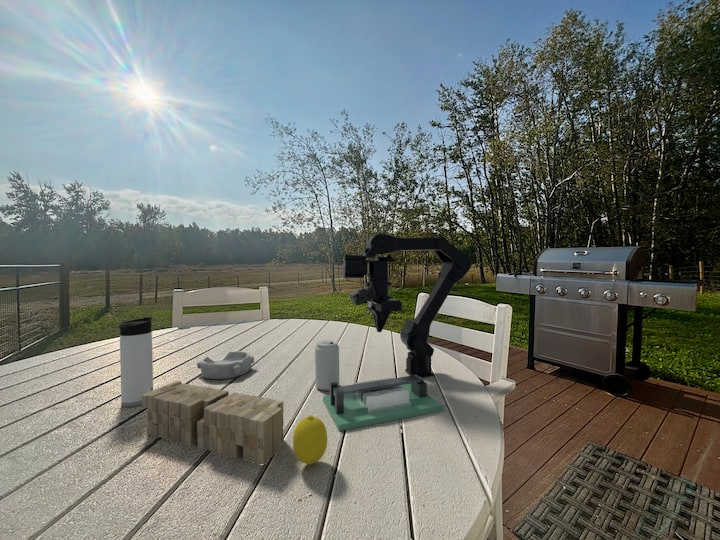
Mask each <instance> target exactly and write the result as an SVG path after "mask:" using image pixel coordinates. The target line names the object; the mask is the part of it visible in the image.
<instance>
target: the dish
mask: <svg viewBox="0 0 720 540" xmlns="http://www.w3.org/2000/svg"><path fill="white" fill-rule="evenodd" d="M254 362H255V357H254V355H251V354H250V353H249V352H247V351H242V350H241V351H239V350H237V351H234V350H233V351H229V352H228V353H227V354H226V356H225V357H223V359H221V360H218V361H214V360H213V359H211V358H210V357H209V356H205V357H204V358H201V359H200V360H197V361H196V366H197V369H198V370H199V369H200V371H201V372H200V373H201V375H202V377H203V378H205V379H210V380H223V379H232V378H236V377H241V376H243V375H244V374H246V373H248V372H249V371H250V370H251V369H252V364H254Z"/></svg>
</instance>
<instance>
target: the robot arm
mask: <svg viewBox="0 0 720 540" xmlns="http://www.w3.org/2000/svg"><path fill="white" fill-rule="evenodd" d="M399 251H401V252H403V251H404V252H405V251H408V252H409V251H432V252H434V253H435V254H436V256H437V258H438V259H439V260H440V262H442V265H441V267H440V268H441V269H440V277H439V278H438V281H437V282H436V284H435V285H434V287H433V289H432V290H431V292H430V293H429V295H428V297H427V299H426V301H425V302H424V304H423V306H422V307H421V309H420V310H419V312H418V313H417V315H416V317H414V318H413V319H410V318H406V320H405V322H404V325H403V326H402V327H401V328H400V331H401V332H400V340H401V342H402V344H403V345H405V347H406V349H407V350H408V351H407V357H406V359H405V362H406V365H405V367H406V368H405V370H404V371H405V372H406V373H407V374H409V376H412V375H415V374H417V375H418V376H420V377H421V378H423V377H424V378H425V377H431V376H435V373H434V371H432V357H433V355H434V352H435V348H433V347H432V346H431V345H430V344H429V343H428V342H427V341H428V339H429V336H430V331H431V325H432V323H433V322H434V320H435V318H436V316H437V314H438V313H439V311H440V309H441V308H442V306H443V304H444V303H445V301H446V300H447V298H448V296H449V294H450V292H451V291H452V289H453V287H454V286H455V284H456V283H458V282H459V281H461V279H463V278H465V276H466V275H467V274H468V272H469V271H470V270H471V269H472V266H473V264H472V263H473V262H472V259H471V257H470V256H469V255H468V254H466V253H463V252H462V251H461V250H460V249H459V248H458V247H456V246H455V245H453V244H452V243H450V242H449V241H448V239H446V237H444V236H437V237H398V236H396V235H389V234H384V233H379V234H376V235H373V236H371V237H369V239H368V240H367V242H366V249H364V251H363V252H362V253H361V255H352V254H344V255H343V264H342V278H343V279H345V280H349V279H351V280H352V279H355V280H356V279H364V277H365V276H367V275H368V281H366V282H365V287H362V288H360V289H357V290H355V291H352V292H350V293H349V294H348V295H349V297H350V300H351V302H352V303H351V304H352V305H355V306H360V305H361V306H363V305H364V304H367V306H365V309H366V310H368V311H369V312H370V313H371V317H372V319H373V322H374V326H375V330H376V332H377V333H382V332H383V329H384V327H385V325H386V323H387V321H388V319H389V317H390V314H391V313H392V312H401V311H403V309H404V308H403V305H404V304H403V302H402V301H401V300H399V299H395V298H392V296H391V295H389V294H390V292H389V291H390V290H389V289H390V287H389V286H392V281H389V278H390V277H389V272H390V271H389V267H390V266H389V263H396V262H397V261H396V259H395V258H394V257H392V255H391V254H390V253H394V252H399ZM385 254H386V256H379V255H385ZM372 258H373V259H374V258H375V259H374V260H367V259H372Z"/></svg>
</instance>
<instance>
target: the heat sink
mask: <svg viewBox="0 0 720 540" xmlns="http://www.w3.org/2000/svg"><path fill="white" fill-rule="evenodd" d="M386 379H393V376H392V377H386V378H385V377H384V378H378V379H372V380H366V381H365V380H364V381H357V382H354V383H353V384H360V383H367V382H373V381H380V380H386ZM334 387H339V386H338V383H337V382H334V383H330V391H329V395H330V404H331V405H335V413H336V414H343V413H344V391H343V390H338V391H335V396H334V394H333V388H334ZM411 392H413V393H414V394H415V395H416V396H418V397H419V398H422V397H427V394H428V383H427V382H425V381H424V382H422V383H421V382H418V383H411ZM353 395H354V396H355V398H356V399H357V400H358V402H359V403H360V404H361V405H362V407H363V408H364V409H365V410H366V412H367V413H368V414H372V413H377V412H383V411H388V410H393V409H399V408H404V407H410V406H411V402H410V401H409V390H405V387H404V386H402V387H401V385H399V386H393V387H387V388H381V389H374V390H368V391H362V392H356V393H353Z"/></svg>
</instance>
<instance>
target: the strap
mask: <svg viewBox="0 0 720 540" xmlns="http://www.w3.org/2000/svg"><path fill="white" fill-rule="evenodd" d="M392 378H393V377H392ZM418 382H421V383H422V382H425V379H424V378H423V377H420V376H418V375H417V374H415V375H406V376H401V377H399V376H398V377H394V378H393V379H386V380H380V381H373V382H367V383H360V384H354V383H353V384H348V385H341V386H340V385H339V386H338V387H334V388H333V394H334V396H335V391H338V390H343V391H344V394H350V393H356V392H362V391H368V390H374V389H381V388H387V387H393V386H399V385H405V384H411V383H418Z"/></svg>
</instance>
